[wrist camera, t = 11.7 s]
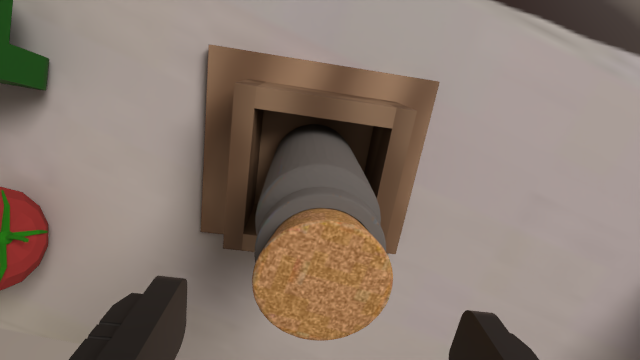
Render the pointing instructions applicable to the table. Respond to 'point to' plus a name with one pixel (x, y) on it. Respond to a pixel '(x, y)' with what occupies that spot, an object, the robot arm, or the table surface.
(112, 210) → the table surface
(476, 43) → the table surface
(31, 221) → the tomato
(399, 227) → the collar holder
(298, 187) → the bottle
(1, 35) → the clamp
